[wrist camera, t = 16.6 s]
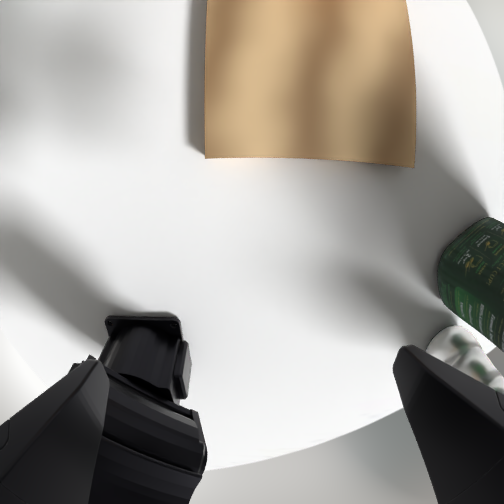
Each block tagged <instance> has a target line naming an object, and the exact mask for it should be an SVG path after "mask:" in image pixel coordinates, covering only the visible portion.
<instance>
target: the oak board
mask: <svg viewBox="0 0 504 504" xmlns="http://www.w3.org/2000/svg"><path fill="white" fill-rule="evenodd" d="M204 116H205V159H207V158H253V157H260V158H306V159H326V160H341V161H354V162H366V163H376V164H385V165H394V166H402V167H410V168H414V163H415V146H416V84H415V67H414V55H413V45H412V37H411V29H410V22H409V16H408V10H407V5H406V0H207V15H206V41H205V97H204Z"/></svg>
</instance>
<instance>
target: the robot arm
mask: <svg viewBox="0 0 504 504" xmlns="http://www.w3.org/2000/svg"><path fill="white" fill-rule="evenodd" d="M109 321H111V322H112V323H110V322H109ZM172 323H175V324H176V325H173V324H172ZM105 325H106V328H107V331H108V335H109V338H108V340H107V342H106V344H105V346H104V348H103V350H102V352H101V354H100V357H99V359H98V360H96V358H94V357H93V356H91V355H90V354H89V356H88V358H87V360H86V361H82V363H73V365H72V367H71V369H70V371H69V373H68V374H67V375H66V376H65V377H63V378H62V379H61V380H59V381H58V382H57V383H55V384H54V385H53V386H51V387H50V388H49V389H47V390H46V391H45V392H44V393H42V394H41V395H40V396H38V397H37V398H36V399H34V400H33V401H32V402H30V403H29V404H28V405H26V406H25V407H24V408H23V409H21V410H20V411H19V412H17V413H16V414H15V415H13V416H12V417H11V418H10V420H7V421H6V422H4V423H3V424H2V425H1V426H0V504H189V501H190V499H191V496H192V494H193V492H194V490H195V488H196V486H197V485H198V483H199V482H200V480H201V479H202V474H203V472H204V470H205V466H206V462H207V447H206V443H205V439H204V435H203V431H202V427H201V423H200V419H199V415H198V412H196V411H194V410H192V409H190V410H189V409H187V408H184V407H182V406H180V405H179V403H180V399H186V398H187V397H188V389H189V381H190V373H191V365H192V363H191V357H190V352H189V346H188V343H187V342H186V341H184V340H183V334H182V328H181V322H180V320H179V319H177V318H174V317H126V316H108V317H107V318H106V320H105ZM393 374H394V377H395V380H396V384H397V387H398V390H399V393H400V397H401V400H402V404H403V407H404V410H405V413H406V415H407V418H408V420H409V423H410V425H411V428H412V430H413V433H414V435H415V437H416V441H417V443H418V446H419V448H420V451H421V454H422V457H423V459H424V462H425V465H426V468H427V471H428V474H429V477H430V480H431V482H432V486H433V489H434V492H435V495H436V498H437V501H438V504H504V394H502V393H500V392H498V391H495V390H494V389H493V388H491V387H489V386H487V385H485V384H483V383H482V382H480V381H478V380H476V379H474V378H472V377H471V376H469V375H467V374H465V373H463V372H461V371H460V370H458V369H456V368H454V367H452V366H450V365H449V364H447V363H445V362H443V361H441V360H440V359H438V358H436V357H434V356H432V355H430V354H429V353H427V352H425V351H423V350H421V349H419V348H418V347H416V346H414V345H407V346H402V347H401V348H400V349H399V351H398V354H397V357H396V359H395V362H394V364H393Z"/></svg>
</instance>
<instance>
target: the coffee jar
mask: <svg viewBox="0 0 504 504" xmlns="http://www.w3.org/2000/svg"><path fill="white" fill-rule="evenodd" d="M438 287H439V292H440V296H441V299H442V301H443V303H444V304H445V305H446V306H447V307H448V308H449V309H450V310H451V311H452V312H453V313H455V314H456V315H457V316H458V317H460V318H461V319H462V320H464V321H465V322H466V323H468V324H469V325H471V326H472V327H473V328H475V329H476V330H477V331H479V332H480V333H481V334H482V335H484V336H485V337H486V338H487V339H489V340H490V341H491V342H492V343H494V344H495V345H496V346H497V347H498V348H499V349H501V350H502V351H503V352H504V223H502V222H500V221H498V220H496V219H494V218H491V217H487V218H484V219H482V220H480V221H478V222H477V223H475V224H474V225H472V226H471V227H469V228H468V229H467V230H466V231H465V232H463V233H462V234H461V235H460V236H459V237H458V238H456V239H455V240H454V241H453V242H452V243H451V244H450V245H449V246H448V247H447V249H446V250H445V251H444V253H443V255H442V257H441V260H440V263H439V267H438Z"/></svg>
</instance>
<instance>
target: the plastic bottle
mask: <svg viewBox="0 0 504 504" xmlns="http://www.w3.org/2000/svg"><path fill="white" fill-rule="evenodd" d="M426 352H427V353H429V354H430V355H432V356H434V357H436V358H438V359H440V360H441V361H443V362H445V363H447V364H449V365H450V366H452V367H454V368H456V369H458V370H460V371H461V372H463V373H465V374H467V375H469V376H471V377H472V378H474V379H476V380H478V381H480V382H482V383H483V384H485V385H487V386H489V387H491V388H493V389H494V390H495V391H498V392H500V393H502V394H504V377H502V374H501V373H500V372H499V371H498V370H497V369H496V368H495V366H494V365H493V364H492V363H491V361H490V359H489V358H488V357H487V355H486V354H485V353H484V351H483V350H482V348H481V346H480V344H479V342H478V341H477V339H476V338H475V337H474V335H473V334H472V333H471V332H470V331H468V330H467V329H465V328H464V327H462V326H449V327H447V328H445V329H443V330H442V331H441V332H439V333H438V334H437V335H436V336H435V337H434V338H433V339H432V341H431V342H430V344H429V345H428V347H427V350H426Z"/></svg>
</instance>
